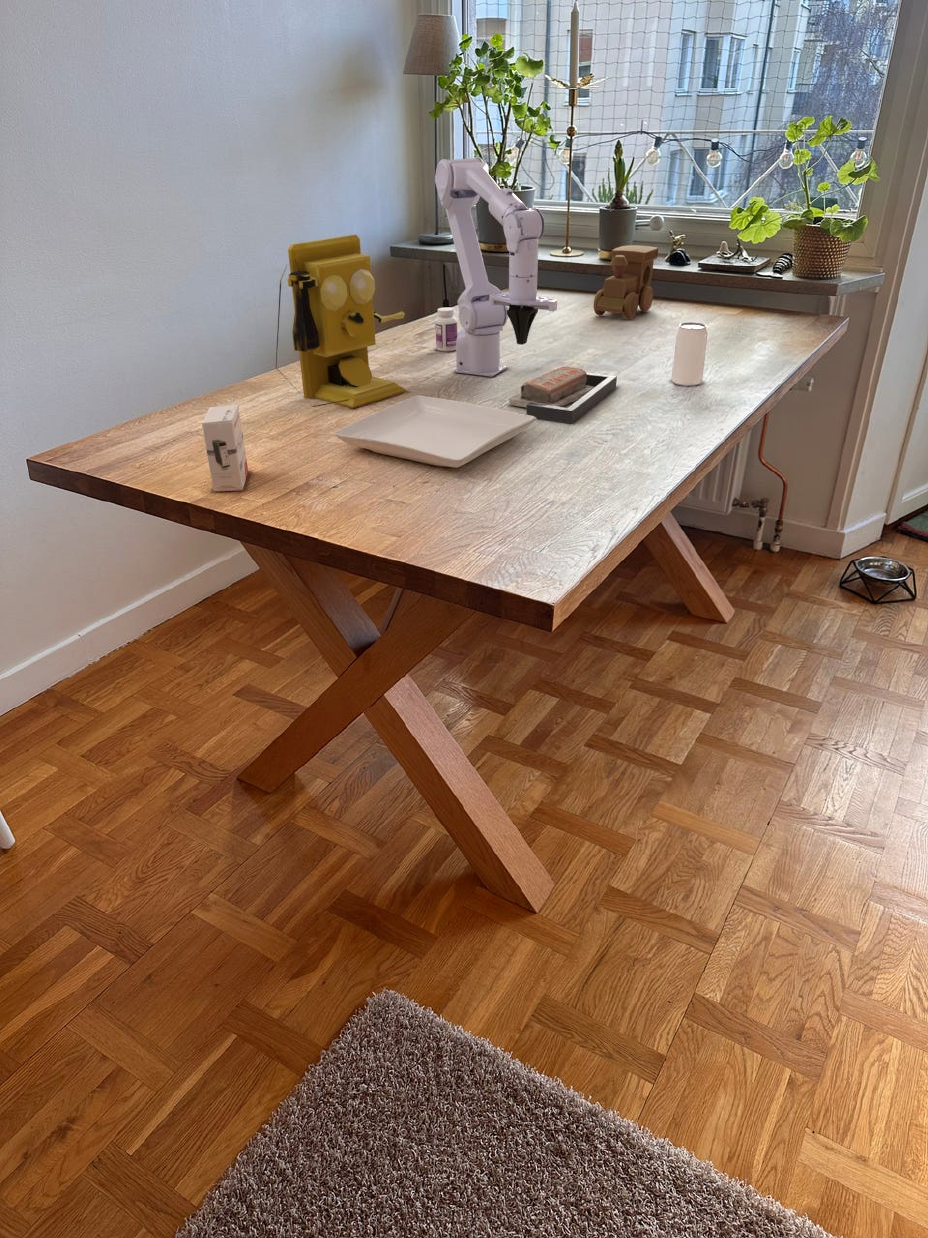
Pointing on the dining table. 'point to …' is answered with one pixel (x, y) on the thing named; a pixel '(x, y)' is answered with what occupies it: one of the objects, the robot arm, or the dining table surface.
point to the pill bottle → (446, 330)
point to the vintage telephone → (335, 321)
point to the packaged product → (553, 388)
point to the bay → (576, 410)
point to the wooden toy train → (628, 282)
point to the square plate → (434, 430)
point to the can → (689, 354)
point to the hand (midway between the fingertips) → (521, 343)
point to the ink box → (225, 448)
